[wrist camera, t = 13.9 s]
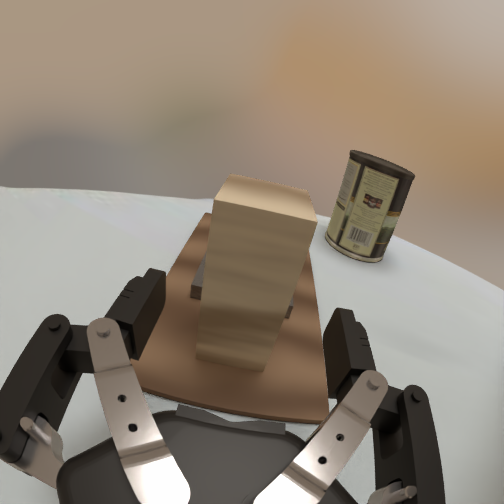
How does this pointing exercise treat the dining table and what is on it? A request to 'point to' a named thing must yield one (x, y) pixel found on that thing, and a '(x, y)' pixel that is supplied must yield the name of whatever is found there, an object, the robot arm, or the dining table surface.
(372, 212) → the coffee can
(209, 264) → the birch block
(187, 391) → the board
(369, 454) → the dining table surface
